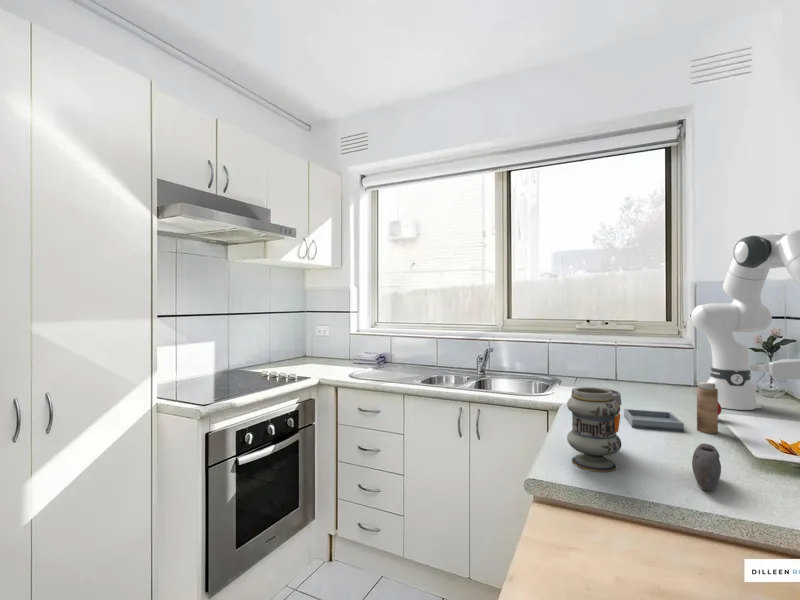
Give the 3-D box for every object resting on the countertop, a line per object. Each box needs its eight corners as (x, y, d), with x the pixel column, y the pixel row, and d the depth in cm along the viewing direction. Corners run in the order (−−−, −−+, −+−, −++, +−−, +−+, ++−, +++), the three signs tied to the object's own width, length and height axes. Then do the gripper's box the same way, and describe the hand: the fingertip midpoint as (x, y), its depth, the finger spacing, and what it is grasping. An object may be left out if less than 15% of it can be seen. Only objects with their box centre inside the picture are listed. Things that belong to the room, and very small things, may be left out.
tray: (624, 416, 147) (624, 408, 147) (670, 419, 143) (670, 412, 143) (632, 427, 134) (632, 419, 134) (683, 431, 129) (683, 423, 129)
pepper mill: (694, 427, 133) (694, 381, 133) (714, 429, 132) (713, 382, 132) (700, 432, 128) (700, 384, 128) (720, 434, 127) (720, 385, 127)
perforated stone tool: (720, 499, 85) (720, 464, 85) (688, 492, 88) (688, 458, 88) (721, 475, 97) (721, 445, 97) (693, 469, 100) (693, 440, 100)
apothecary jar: (575, 451, 112) (575, 383, 112) (626, 462, 104) (626, 389, 104) (560, 465, 103) (559, 390, 103) (614, 478, 95) (614, 397, 95)
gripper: (823, 354, 119) (759, 354, 129) (816, 358, 105) (745, 357, 116) (826, 377, 118) (761, 375, 128) (818, 383, 105) (747, 380, 115)
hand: (753, 366), depth 122 cm, fingers open, 8 cm apart
